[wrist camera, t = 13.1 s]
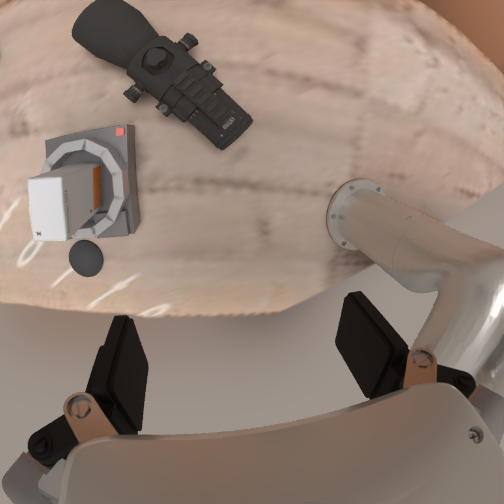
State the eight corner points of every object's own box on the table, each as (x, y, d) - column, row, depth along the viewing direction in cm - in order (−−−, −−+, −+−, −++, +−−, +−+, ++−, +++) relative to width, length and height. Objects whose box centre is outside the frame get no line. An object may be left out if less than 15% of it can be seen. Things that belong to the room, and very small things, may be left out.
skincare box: (104, 207, 31) (67, 243, 20) (75, 207, 30) (32, 243, 19) (103, 160, 28) (62, 176, 18) (74, 161, 27) (25, 179, 17)
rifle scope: (204, 162, 36) (208, 171, 27) (80, 56, 24) (50, 38, 15) (258, 109, 34) (280, 102, 25) (132, 5, 23) (118, -26, 14)
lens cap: (100, 237, 37) (97, 240, 36) (107, 272, 39) (105, 276, 38) (68, 240, 36) (65, 243, 35) (76, 274, 38) (73, 277, 37)
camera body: (134, 125, 31) (120, 123, 24) (140, 222, 37) (129, 242, 30) (59, 138, 29) (34, 142, 22) (69, 229, 35) (49, 248, 28)
